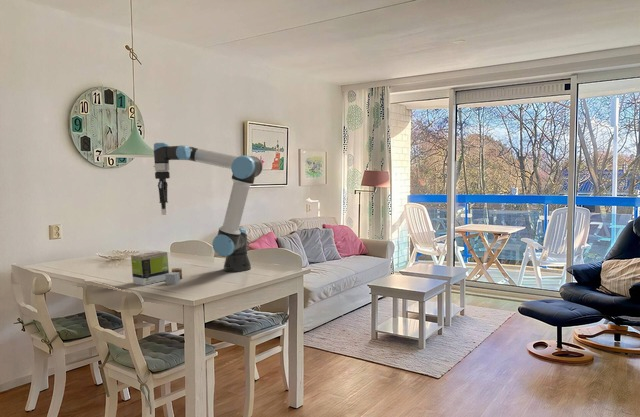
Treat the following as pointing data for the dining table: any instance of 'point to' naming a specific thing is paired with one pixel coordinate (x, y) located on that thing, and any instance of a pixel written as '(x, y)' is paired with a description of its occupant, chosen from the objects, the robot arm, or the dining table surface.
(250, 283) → the dining table surface
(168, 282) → the slate-grey cube
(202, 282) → the dining table surface
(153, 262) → the tea box
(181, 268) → the walnut cube
